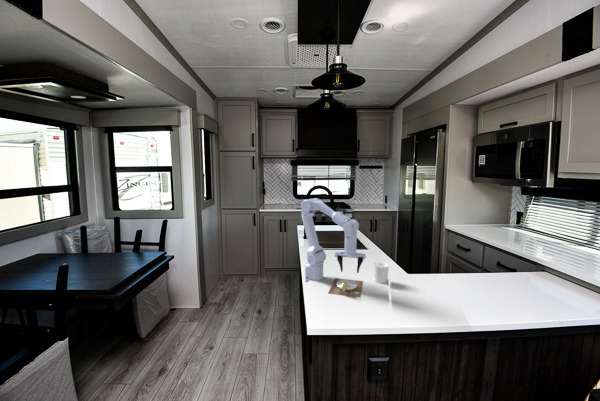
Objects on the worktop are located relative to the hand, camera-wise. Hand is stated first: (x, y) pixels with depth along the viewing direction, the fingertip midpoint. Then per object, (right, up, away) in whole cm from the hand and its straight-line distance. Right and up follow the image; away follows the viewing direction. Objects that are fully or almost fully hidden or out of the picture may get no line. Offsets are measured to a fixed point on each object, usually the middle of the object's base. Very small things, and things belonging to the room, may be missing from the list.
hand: (349, 271), depth 135 cm
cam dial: (-2, -8, 0) cm, 8 cm away
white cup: (+18, -9, +10) cm, 22 cm away
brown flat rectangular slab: (-1, -9, +2) cm, 10 cm away
